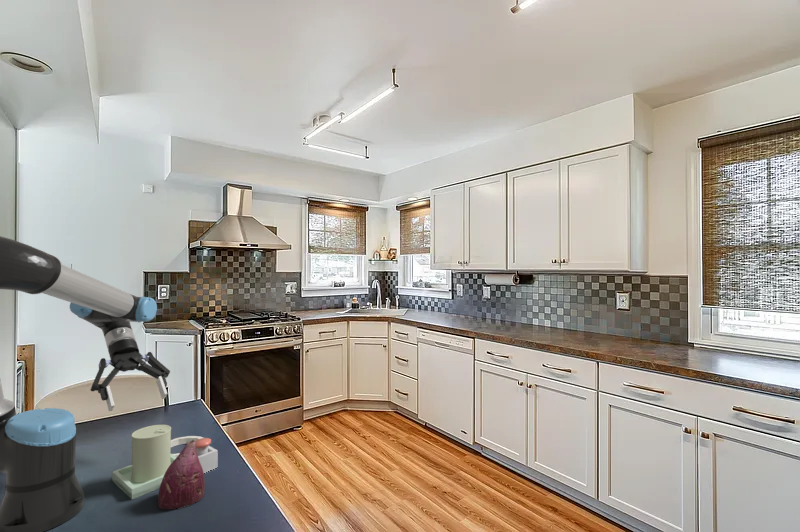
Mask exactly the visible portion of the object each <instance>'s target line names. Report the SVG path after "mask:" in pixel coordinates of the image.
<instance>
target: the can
mask: <svg viewBox="0 0 800 532" xmlns="http://www.w3.org/2000/svg"><path fill="white" fill-rule="evenodd" d="M171 435H172V427H171V426H170V425H168V424H152V425H149V426H145V427H141V428H139V429H137V430H134V431H133V432H132V434H131V465H132V475H131V480H132V481H133V482H136V483H145V482H148V481H150V480H153V479H155V478H158V477H160V476H163V475H164V474H165V472H166V471H167V469H168V467H169V466H170V465H171V454H172V453H171V449H172V447H171V440H172V438H171V437H172V436H171Z"/></svg>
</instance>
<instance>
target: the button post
mask: <svg viewBox="0 0 800 532" xmlns="http://www.w3.org/2000/svg"><path fill="white" fill-rule="evenodd" d="M218 454H219V451H218V449H216V448H214V447H213V446H210V445H208V453H205V454H203V455H200V456H198V458H199V461H200V464H201V466H202V469H203V472H204V473H205V474H207V473H209V472H211V471H210V470H212V471H214V470H216V469H215V468H217V467H218V466H219V465H218V463H219V462H218V461H219V455H218ZM218 468H219V467H218ZM218 468H217V469H218ZM213 469H214V470H213ZM208 471H209V472H208ZM206 472H207V473H206Z"/></svg>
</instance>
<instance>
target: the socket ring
mask: <svg viewBox="0 0 800 532" xmlns="http://www.w3.org/2000/svg"><path fill="white" fill-rule="evenodd" d="M201 438H204V437H203V436H200V435H199V436H197V435H187V436H181V437H175V438H173V439H171V448H174V447H175V446H179V445H186V444H187V443H189V442H190V441H191V440H193V439H194V441H196V440H198V439H201ZM172 454H173V455H174V456H176V457H178V455H179V454H180V452H178V453H172Z"/></svg>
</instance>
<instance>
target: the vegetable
mask: <svg viewBox="0 0 800 532" xmlns="http://www.w3.org/2000/svg"><path fill="white" fill-rule="evenodd" d="M179 453H180V454H179V455H178V457H177V458H176V459H175V460H174V461H173V462H172V463H171V465H170V466H169V467H168V469H167V471H166V472H165V474H164V477H163V479H162V482H161V485H160V488H159V489H158V496H157V497H158V499H157V500H158V501H157V506H158V508H159V509H161V508H162V509H161V510H169V509H172V510H179V508H180V509H182V508H181V507H183V508H185V507H184V506H187V505H190V506H192V505H191V504H193V503H195V502H197V501H198V502H200V501H201V500H202V499H204V497H203V496H205V491H206V487H205V485H206V484H205V474H204V472H203V469H202V466H201V464H200V461H199V458H198V455H197V448H196V444H195V442H194V439H193V440H191V441H190V442H189V443H187V444H185V446H184V447H183V448H182V449H181V451H180V452H179ZM200 499H201V500H200ZM199 500H200V501H199ZM198 502H197V503H198ZM195 504H196V503H195ZM193 505H194V504H193ZM187 507H188V506H187ZM163 508H164V509H163ZM176 508H178V509H176Z"/></svg>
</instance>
